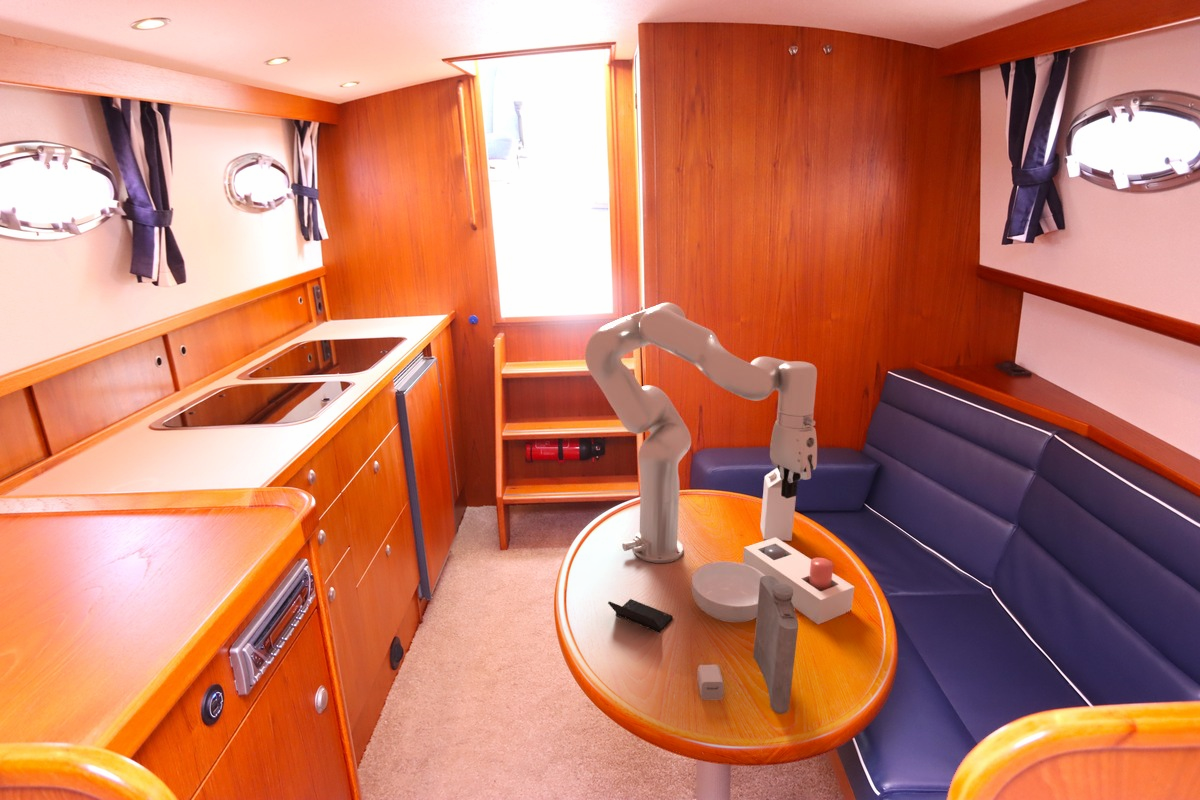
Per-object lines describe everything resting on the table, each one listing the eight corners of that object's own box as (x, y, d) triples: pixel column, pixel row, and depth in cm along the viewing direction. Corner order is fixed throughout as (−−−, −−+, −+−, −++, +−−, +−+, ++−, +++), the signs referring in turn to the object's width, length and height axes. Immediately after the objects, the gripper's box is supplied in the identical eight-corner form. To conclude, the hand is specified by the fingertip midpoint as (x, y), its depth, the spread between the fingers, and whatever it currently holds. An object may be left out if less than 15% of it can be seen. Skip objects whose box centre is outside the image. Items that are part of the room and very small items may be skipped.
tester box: (817, 624, 138) (820, 600, 136) (742, 569, 158) (743, 547, 156) (851, 610, 143) (854, 586, 141) (773, 558, 163) (775, 537, 161)
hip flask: (751, 652, 130) (759, 563, 124) (772, 652, 130) (780, 563, 124) (773, 713, 115) (782, 616, 109) (796, 713, 115) (807, 616, 109)
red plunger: (819, 593, 140) (822, 571, 138) (803, 583, 144) (806, 561, 142) (835, 587, 142) (838, 565, 141) (819, 577, 146) (821, 555, 144)
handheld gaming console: (676, 606, 141) (662, 589, 134) (669, 640, 138) (654, 624, 130) (627, 599, 147) (611, 582, 139) (619, 632, 143) (602, 616, 136)
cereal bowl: (682, 624, 138) (683, 595, 136) (698, 581, 153) (699, 555, 151) (764, 642, 133) (767, 612, 131) (773, 596, 148) (775, 569, 146)
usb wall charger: (700, 700, 118) (701, 681, 117) (695, 672, 124) (696, 655, 123) (722, 699, 118) (724, 681, 117) (716, 672, 124) (717, 655, 123)
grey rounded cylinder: (772, 578, 153) (774, 557, 151) (758, 568, 157) (760, 548, 155) (787, 572, 155) (789, 552, 153) (773, 563, 159) (775, 543, 157)
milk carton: (786, 528, 177) (793, 463, 172) (791, 541, 171) (798, 474, 165) (760, 526, 178) (765, 462, 172) (763, 540, 171) (769, 473, 166)
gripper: (834, 425, 138) (826, 504, 143) (782, 407, 150) (777, 480, 156) (808, 432, 134) (801, 513, 140) (757, 412, 147) (753, 487, 152)
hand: (788, 495), depth 148 cm, fingers closed
